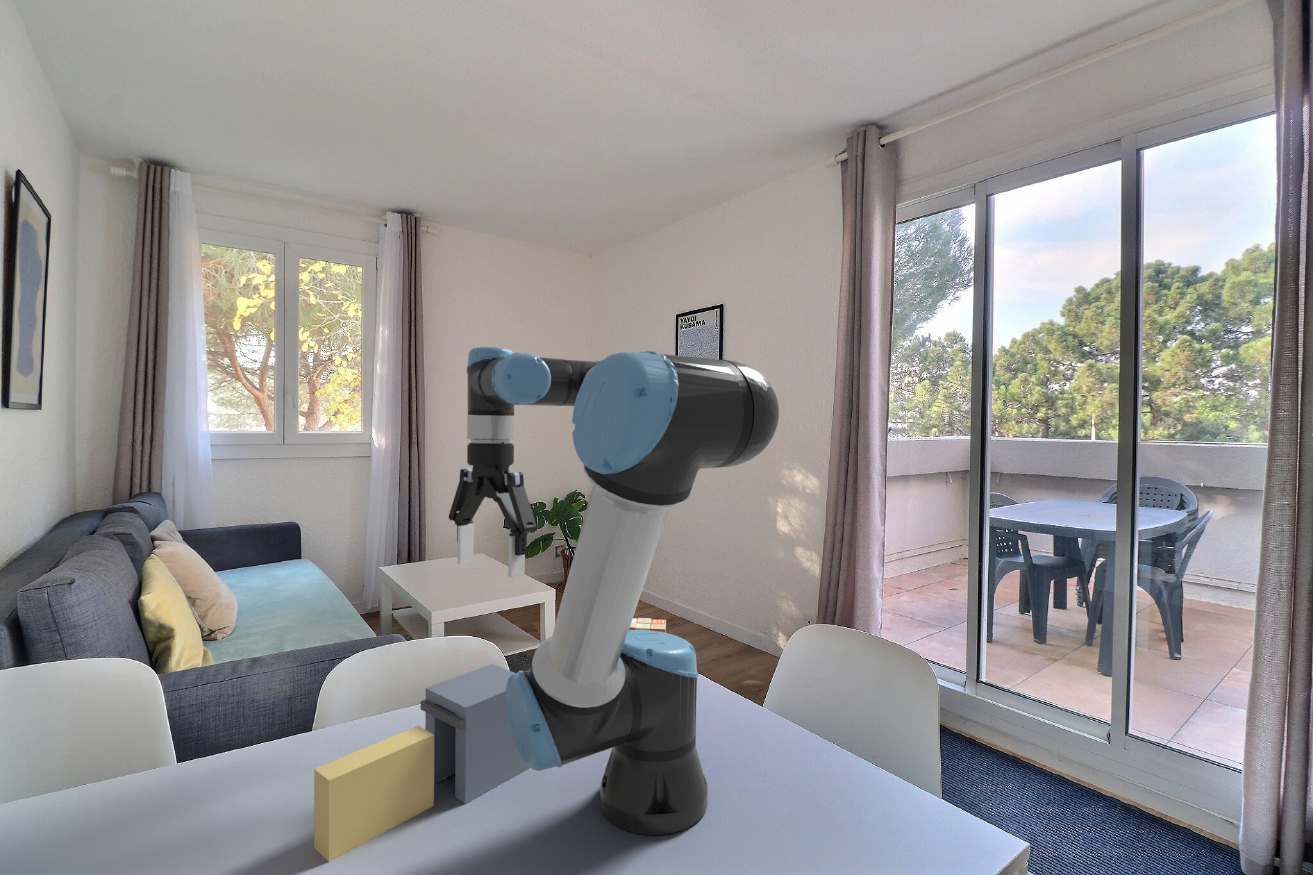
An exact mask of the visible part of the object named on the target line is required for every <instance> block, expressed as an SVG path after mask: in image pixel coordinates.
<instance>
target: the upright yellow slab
mask: <svg viewBox="0 0 1313 875" xmlns="http://www.w3.org/2000/svg"><path fill="white" fill-rule="evenodd" d="M313 771H314V772H313V780H314V781H313V784H314V785H313V791H314V792H313V813H314V814H313V815H314V816H313V817H314V819H313V824H314V827H313V833H314V834H313V835H314V836H313V840H314V842H313V848H314V849H315V850H316V851H317V852H318V854H320V855H321V856H322V857H323V858H324V859H325V860H326V861H327V862H328V863H331V862H332V861H334V860H335V859H338V858H340V857H342V856H344V855H346V854H347V853H350V851H352V850H354V849H356V848H358V847H360V846H362V845H364V844H366V843H367V842H369V841H372V840H373V839H375V838H377V837H378V836H380V835H382V834H384V833H387V832H388V831H390V830H391V829H394V828H395V827H397V826H399V825H401V824H403V823H405V822H406V821H408V820H410V819H412V818H414V817H416V816H417V815H419V814H421V813H423V812H425V811H427V810H429V809H431V808H432V807H434V806H435V784H434V734H432V733H430V732H428V731H427V730H425V728H423V727H421V726H419V725H416V726H414V727H412V728H409V729H407V730H405V731H403V732H400V733H398V734H394V735H392V736H390V737H387V738H385V739H383V740H381V741H379V742H378V741H377V742H376V743H374V744H371V745H369V746H366V747H364V748H361V749H359V750H357V751H354V752H351V753H350V754H347V755H344V756H342V757H340V758H338V759H335V760H333V761H330V762H328V763H327V762H326V763H325V764H323V765H321V766H317V767H315V768H314V769H313Z"/></svg>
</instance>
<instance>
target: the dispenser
mask: <svg viewBox="0 0 1313 875" xmlns="http://www.w3.org/2000/svg"><path fill="white" fill-rule="evenodd" d="M515 673H516V672H513V671H511V670H508V669H506V668H504V667H500V666H499V665H495V664H493V663H492V664H488V665H486V666H483V667H480V668H477V669H474V670H472V671H469V672H467V673H464V674H460V675H458V676H456V677H453V678H450V679H447V680H444V681H441V682H438V683H436V684H434V685H430V686H428V687H425V699H423V700H420V710H421V711H423V712H424V713H425V714H424V716H425V724H424V725H425V727H424V729H425V730H427V731H428V732H430V733H432V734H434V785H435V784H437V783H439V782H442V781H443V780H445V779H447V778H449V777H451V776H453V775H454V774H455V776H454V777H455V778H454V780H455V781H454V782H455V783H454V785H455V786H454V790H455V792H454V795H455V799H457V800H459V801H460V802H462V803H463V804H465V805H466V804H468V803H470V802H471V801H473V800H475V799H477V798H478V797H481V796H483V794H486V793H488V792H489V791H492V790H493V789H495V788H497V787H498V786H500V785H501V784H504V783H505V782H507V781H509V780H510V779H511V780H512V778H514V777H516V776H517V775H520V774H522V773H523V772H525V771H527V770H528V769H531V768H530V767H528V766H527V765H526V764H525V762H524V761H523V759H522V758H521V756H520V754H519V752H518V750H517V747H516V745H515V742H514V739H513V736H512V732H511V729H510V725H509V720H508V714H507V708H506V684H507V681H508V679H509V677H510V676H511V675H513V674H515Z"/></svg>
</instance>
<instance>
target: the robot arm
mask: <svg viewBox="0 0 1313 875" xmlns="http://www.w3.org/2000/svg"><path fill="white" fill-rule="evenodd" d="M467 356H468V357H467V358H468V359H467V360H468V361H467V366H466V374H467V414H466V415H467V417H466V418H467V419H466V421H467V424H466V438H467V439H468V440H469V441H470V442H469V443H468V444H467V445H466V452H467V453H466V454H467V455H466V457H467V458H466V463H467V464H468V465H469V466H472V468H461V469H460V471H459V481H458V484H457V489H456V491H455V493H454V494H455V495H454V497H453V500H452V501H453V502H452V504H451V507H450V509H449V514H448V520H449V521H453V522H454V524H455V526H456V542H457V565H464V564H469V563H473V562H474V561H475V560H474V559H475V558H474V554H475V553H474V552H475V551H474V550H475V549H474V547H475V540H474V539H475V536H474V534H475V532H474V531H475V529H474V528H475V524H473V523H474V521H473V519H474V517H475V516H476V513H477V511H478V510H479V508H480V506H481V504H482V503H483V501H484V500H485V498H488V499H492V500H493V501H494V502H495V503H497V505H498V506H499V507H498V508H499V509H500V510H501V513H502V516H503V517H504V519H505V521H506V523H507V525H508V527H509V530H510V533H509V534H508V552H507V553H508V565H507V566H508V568H507V569H508V573H507V574H508V577H510V578H514V577H517V576H521V575H524V574H525V573H526V572H525V571H526V570H525V569H526V566H525V565H526V562H525V560H526V554H527V551H528V550H527V546H528V544H527V538H528V534H529V533H532V532H535V531H537V529H538V528H537V527H538V526H537V523H536V520H535V517H534V514H533V511H532V507H531V504H530V501H529V497H528V495H527V492H526V489H525V483H524V482H525V480H524V473H523V472H522V471H518V472H517V471H516V472H510V466H512V465H513V464H514V462H515V445H514V444H513V442H512V443H511V440H513V439H514V438H515V425H514V424H515V423H514V422H515V421H514V419H515V417H514V416H515V406H520V405H521V406H548V407H549V406H550V407H551V406H552V407H563V406H565V407H573V411H572V419H571V422H572V424H573V425H574V429H573V431H572V442H573V445H574V450H575V452H576V455H577V457H578V459H579V460H580V462H582V464H583V471H584V473H585V475H586V477H587V479H588V480H589V481H590V483H591V484H592V488H591V492H590V495H589V499H588V502H587V507H586V510H585V514H584V517H583V521H582V525H581V528H580V531H579V532H580V533H579V536H578V539H577V544H576V546H575V549H574V555H573V558H572V562H571V565H570V568H569V572H568V577H567V579H566V584H565V587H564V591H563V594H562V599H561V603H560V605H559V609H558V611H557V616H556V620H555V623H554V628H553V631H552V635H551V636H550V637H548V638H546V639H544V640H543V641H542V642H541V643H540V644H539V645H538V646H537V648H536V649H535V652H534V655H533V658H532V660H531V661H532V662H531V664H530V668H529V669H528V670H524V671H523V670H519V671H518V672H514V673H515V674H513V675H511V676H510V677H509V679H508V681H507V684H506V708H507V714H508V720H509V725H510V729H511V732H512V736H513V739H514V742H515V745H516V747H517V750H518V752H519V754H520V756H521V758H522V759H523V761H524V762H525V764H526V765H527V766H528V767H530V768H529V769H531V770H533V771H536V772H540V771H541V772H542V771H545V770H549V769H552V768H556V767H557V768H561V767H563V766H564V765H567V764H570V763H572V762H576V761H578V760H581V759H584V758H587V757H589V756H594V755H596V754H599V753H601V752H603V751H607V750H609V749H611V751H610V755H609V757H608V760H607V764H606V766H605V768H604V773H603V776H602V778H601V781H600V790H599V795H600V797H599V800H600V802H599V803H600V808H601V810H602V813H603V815H604V816H605V817H606V818H607V819H608V820H609V821H610V822H611V823H613V824H614V826H617V827H619V828H621V829H623V830H624V831H628V832H631V833H635V834H638V835H639V834H640V835H648V836H662V835H669V834H674V833H678V832H681V831H683V830H686V829H688V828H691V827H692V826H694V825H695V824H696V823H698V822H699V821H700V820H701V819H702V818H703V816H704V815H705V814H706V812H707V809H708V801H709V799H708V798H709V797H708V794H709V792H708V791H709V790H708V788H709V787H708V782H707V780H706V777H705V775H704V771H703V768H702V764H701V760H700V757H699V754H698V749H697V744H696V742H697V741H696V739H697V738H696V737H697V690H698V689H697V687H698V685H697V684H698V682H697V681H698V677H699V672H698V669H697V665H698V664H697V652H696V650H695V648H694V646H693V645H692V644H691V643H690V642H689V641H688V640H686V639H685V638H682V637H680V636H677V635H674V634H671V633H668V632H666V633H663V632H658V631H650V630H630V631H629V628H630V625H631V622H632V619H633V618H634V617H635V616H634V615H635V613H636V610H637V606H638V604H639V602H640V601H639V600H640V598H641V594H642V592H643V589H644V586H645V583H646V580H647V577H648V575H649V574H648V573H649V572H650V568H651V564H652V563H653V559H654V556H655V554H656V550H657V547H658V544H659V541H660V538H661V534H662V533H663V532H662V531H663V530H664V526H665V524H666V521H667V518H668V515H669V512H670V509H671V508H673V507H677V506H680V505H682V504H683V503H685V502H686V501H687V500H688V499H689V497H690V494H691V492H692V489H693V486H694V483H695V481H696V477H697V474H698V473H699V471H700V469H712V468H713V469H715V468H716V469H717V468H719V469H720V468H729V467H734V466H738V465H741V464H745V463H746V462H748V461H750V460H751V461H752V460H753V459H754V458H756V457H758V455H759V454H761V453H762V452H763V451H764V450H765V449H766V448H767V446H768V445H769V444H770V443H771V440H772V439H773V437H774V436H775V433H776V431H777V427H778V424H779V418H780V417H779V416H780V413H779V412H780V408H779V406H780V405H779V402H778V398H777V394H776V392H775V390H774V389H773V386H772V385H771V383H770V382H769V381H768V379H767V378H766V377H765V376H764V375H763V374H762V373H760V371H758V370H757V369H755V368H753V367H751V366H750V365H747V364H745V363H742V362H738V361H735V360H729V359H715V358H705V357H704V358H703V357H695V356H685V355H674V354H673V355H672V354H665V353H664V354H663V353H659V352H658V351H651V350H647V351H639V352H636V351H635V352H630V351H629V352H628V351H627V352H626V351H625V352H623V351H622V352H620V351H619V352H615V353H613V354H609V355H608V356H606V357H605V358H604V359H602V360H600V361H589V360H575V359H574V360H573V359H563V358H552V357H551V358H550V357H539V356H537V355H535V354H533V353H527V352H526V353H525V352H523V353H520V352H516V353H514V352H513V351H512V350H511V349H508V348H506V347H505V348H504V347H495V346H482V347H473V348H471V349H470V350H469V352H468V355H467Z"/></svg>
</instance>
